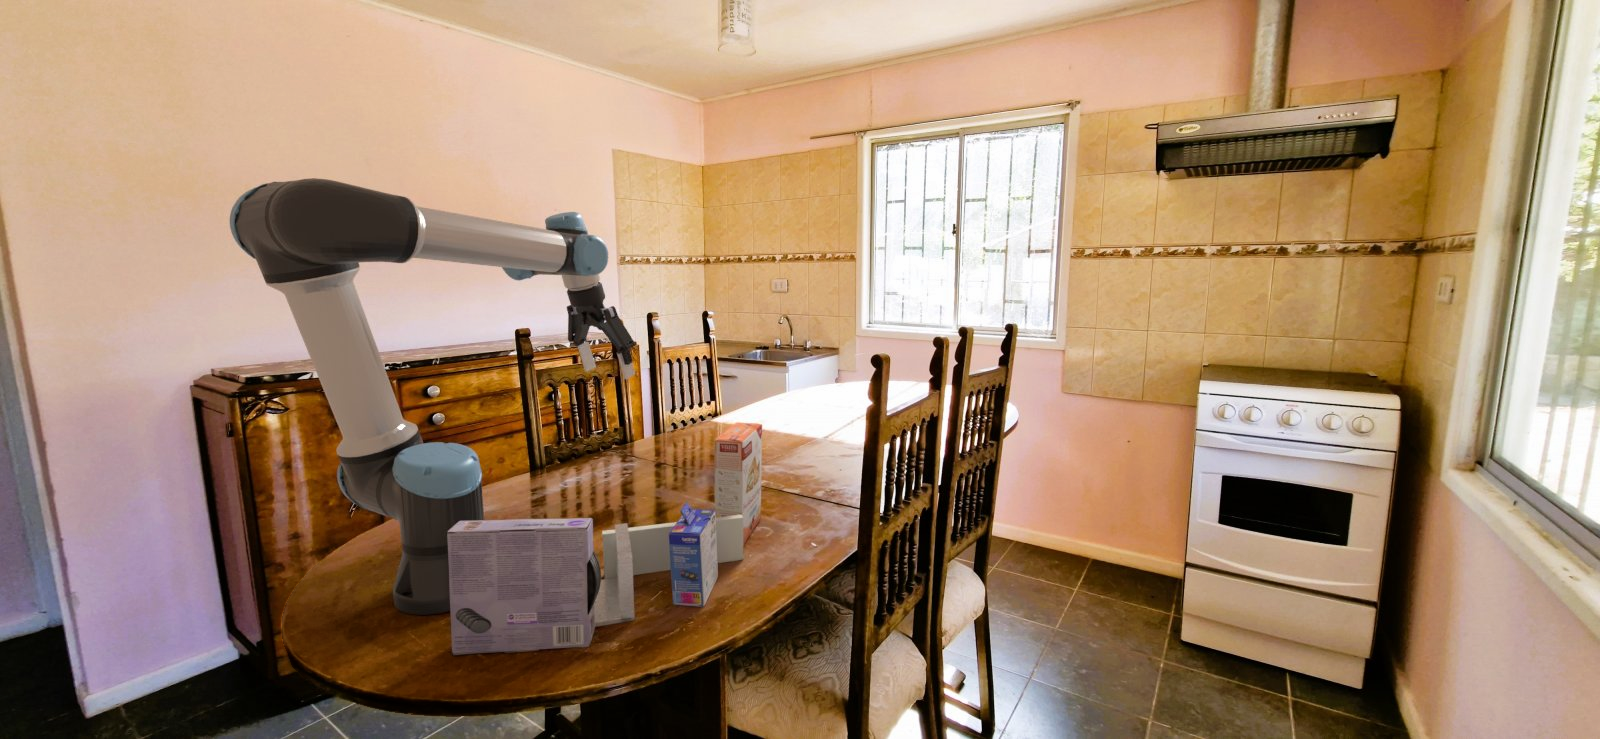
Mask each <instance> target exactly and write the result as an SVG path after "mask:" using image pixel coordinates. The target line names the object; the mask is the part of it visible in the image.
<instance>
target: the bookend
mask: <svg viewBox="0 0 1600 739" xmlns="http://www.w3.org/2000/svg"><path fill="white" fill-rule="evenodd" d="M628 528H629V526H628V522H625V523H617V524H614V529H615V541H616V565H617V577H616V578H609V579H601V584H600V589H599V592H598V595H597V597H596V600H595V603H594V614H595V628H596V627H602V626H603V627H604V626H609V625H615V624H619V623H620V624H621V623H626V622H632V621H633V622H634V621H635V620H636V618H635V617H636V616H635V594H634V593H635V592H634V591H635V590H634V575H633V563H632V552H631V545H630V538H629V531H628Z"/></svg>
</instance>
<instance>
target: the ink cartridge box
mask: <svg viewBox="0 0 1600 739" xmlns="http://www.w3.org/2000/svg"><path fill="white" fill-rule="evenodd" d="M679 511H680V514H681V516H680V517H679V519H678V521H676V522H677V523H676V524H675V526H674V527H673V528H672V530H671V531H670V533H669V547H670V564H671V570H670V576H671V591H672V594H671V595H672V604H673V605H675V606H683V607H684V606H685V607H686V606H687V607H699V608H702V607H704V606H705V605H706V603H707V601H708V600H709V599H708V598H709V597H710V594H711V592H712V590H713V588H714V586H715V584H716V582H717V579H718V577H719V570H718V569H719V568H718V563H717V538H716V516H715V509H700V508H692V507H691V506H690V504H689V503H688V502H685V503H684V505H683V506H682V507H681V508H680V510H679Z"/></svg>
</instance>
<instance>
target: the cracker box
mask: <svg viewBox="0 0 1600 739" xmlns="http://www.w3.org/2000/svg"><path fill="white" fill-rule="evenodd" d="M762 444H763V424H762V423H755V422H754V423H753V422H740V421H739V422H735V423H734V424H733V425H731V426H730V427H729V428H727V429H726V430H725V431H724V432H722V433H721V434H720V435H719V436H718V437H716V438H715V439H714V510H715V516H716V517H724V516H732V515H742V516H743V546H744V545H745V543H746V542H747V540H748V539H749V537H750V535H751V534H752V533H753V531H754V530H755V528H756V527H757V525H758V524H759V522H760V521H761V520H762V518H761V517H762V516H761V515H762V458H763V457H762V452H763V451H762V450H763V448H762V447H763V445H762Z"/></svg>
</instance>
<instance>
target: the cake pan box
mask: <svg viewBox="0 0 1600 739" xmlns="http://www.w3.org/2000/svg"><path fill="white" fill-rule="evenodd" d="M447 540H448V560H449V592H450V611H449V613H450V634H451V635H450V636H451V637H450V638H451V652H452V655H453V656H461V655H462V656H463V655H473V654H487V653H503V652H504V653H508V654H509V653H522V652H523V653H524V652H537V651H539V650H549V649H563V648H564V649H566V648H568V649H569V648H589V647H590V645H591V642H592V639H593V636H594V634H595V630H596V629H595V628H596V627H595V614H594V603H595V600H596V597H597V595H598V592H599V589H600V584H601V580H602V570H601V566H600V565H601V564H600V562H599V558H598V556H597V555H596V554H597V553H596V552H595V550H594V519H593V518H592V517H576V518H575V517H573V518H571V517H570V518H522V519H521V518H520V519H517V518H515V519H490V520H489V519H487V520H485V519H484V520H476V521H459V522H458V523H456V524H455V525H454V526H453V527H452V528H451V529H450V530H448V533H447Z"/></svg>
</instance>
